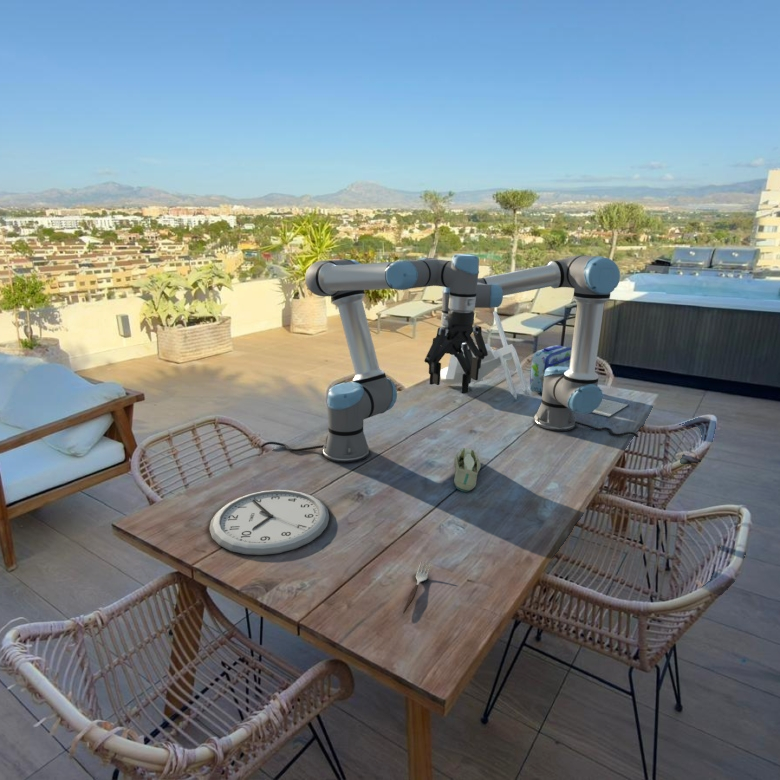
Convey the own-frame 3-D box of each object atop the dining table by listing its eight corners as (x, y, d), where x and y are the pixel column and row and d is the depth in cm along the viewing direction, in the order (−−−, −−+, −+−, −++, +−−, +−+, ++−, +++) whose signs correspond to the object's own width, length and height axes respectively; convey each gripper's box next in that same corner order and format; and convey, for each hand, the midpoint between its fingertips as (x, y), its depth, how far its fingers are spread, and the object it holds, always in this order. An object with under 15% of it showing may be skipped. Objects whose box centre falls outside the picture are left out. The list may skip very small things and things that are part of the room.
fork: (396, 613, 103) (397, 605, 102) (420, 566, 117) (420, 559, 117) (409, 617, 102) (409, 608, 102) (431, 569, 116) (432, 561, 116)
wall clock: (327, 546, 121) (194, 551, 119) (327, 552, 122) (195, 557, 119) (330, 485, 150) (223, 488, 147) (330, 490, 150) (224, 493, 148)
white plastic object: (461, 429, 252) (437, 405, 227) (444, 352, 274) (420, 323, 250) (535, 404, 240) (518, 377, 215) (510, 326, 262) (492, 293, 237)
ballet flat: (479, 458, 173) (480, 436, 171) (482, 494, 150) (484, 469, 147) (453, 457, 174) (455, 435, 172) (453, 492, 151) (455, 467, 148)
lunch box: (546, 398, 236) (551, 353, 229) (525, 393, 243) (529, 349, 237) (573, 387, 253) (579, 344, 247) (553, 382, 260) (558, 341, 254)
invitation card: (608, 416, 214) (573, 407, 224) (608, 416, 214) (573, 408, 224) (628, 404, 229) (594, 396, 238) (628, 405, 229) (594, 397, 238)
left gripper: (430, 314, 140) (425, 389, 147) (504, 311, 152) (496, 380, 158) (417, 310, 147) (412, 381, 154) (488, 306, 158) (481, 373, 165)
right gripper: (416, 321, 176) (413, 382, 182) (477, 333, 160) (472, 399, 166) (430, 319, 181) (427, 378, 187) (491, 330, 165) (485, 394, 171)
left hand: (455, 381), depth 156 cm, fingers open, 13 cm apart
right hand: (448, 388), depth 177 cm, fingers open, 13 cm apart
